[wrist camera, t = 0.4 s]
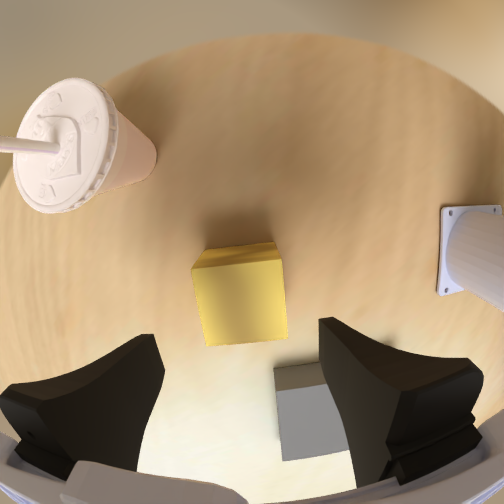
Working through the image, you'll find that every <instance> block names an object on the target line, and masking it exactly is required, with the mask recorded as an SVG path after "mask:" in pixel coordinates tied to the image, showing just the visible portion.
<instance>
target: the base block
mask: <svg viewBox="0 0 504 504" xmlns="http://www.w3.org/2000/svg"><path fill="white" fill-rule="evenodd" d="M274 379H275V389H276V399H277V409H278V420H279V430H280V441H281V450H282V460H283V461H290V460H297V459H304V458H311V457H316V456H322V455H327V454H332V453H337V452H341V451H346V450H349V446H348V442H347V438H346V434H345V430H344V426H343V423H342V419H341V417H340V414H339V411H338V409H337V406H336V404H335V402H334V399H333V397H332V395H331V392H330V390H329V388H328V385H327V383H326V380H325V378H324V375H323V371H322V368H321V364H320V362H317V363H311V364H304V365H297V366H290V367H282V368H274Z"/></svg>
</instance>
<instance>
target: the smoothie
mask: <svg viewBox="0 0 504 504" xmlns="http://www.w3.org/2000/svg"><path fill="white" fill-rule="evenodd" d="M0 152H8V153H13V170H14V176H15V181H16V184H17V187H18V189H19V192H20V194H21V195H22V197H23V199H24V200H25V201H26V202H27V203H28V204H29V205H30V206H31V207H32V208H33V209H35V210H37V211H39V212H43V213H57V212H63V213H65V212H68V211H71V210H74V209H77V208H79V207H80V206H81V205H83V204H84V203H85V202H87V201H88V200H90V199H91V197H93V196H96V195H99V194H102V193H105V192H108V191H111V190H114V189H117V188H120V187H124V186H127V185H130V184H134V183H137V182H140V181H142V180H144V179H146V178H147V177H148V176H149V175H150V174H151V172H152V171H153V169H154V167H155V164H156V159H157V153H156V148H155V146H154V144H153V143H152V141H151V140H150V139H149V138H148V137H146V136H145V135H144V134H143V133H142V132H141V131H140V130H139V129H138V128H137V127H136V126H134V125H133V124H132V123H131V122H130V121H129V120H128V119H127V118H126V117H125V116H124V115H122V114H121V113H120V112H119V111H118V110H117V109H116V107H115V104H114V102H113V99H112V98H111V96H110V95H109V94H108V93H107V91H106V90H105V89H104V88H102V87H101V86H99V85H97V84H95V83H93V82H90V81H88V80H85V79H82V78H69V79H65V80H62V81H59V82H57V83H55V84H54V85H52V86H50V87H49V88H48V89H46V90H45V91H44V92H43V93H42V94H40V96H39V97H38V98H37V99H36V100H35V101H34V102H33V104H32V105H31V107H30V108H29V109H28V111H27V112H26V114H25V116H24V118H23V120H22V122H21V125H20V128H19V130H18V133H17V136H16V138H15V137H7V136H0Z"/></svg>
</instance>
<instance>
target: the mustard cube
mask: <svg viewBox="0 0 504 504" xmlns="http://www.w3.org/2000/svg"><path fill="white" fill-rule="evenodd" d="M191 274H192V279H193V285H194V290H195V295H196V300H197V305H198V310H199V315H200V319H201V324H202V329H203V333H204V338H205V342H206V346H218V345H231V344H243V343H253V342H263V341H272V340H280V339H288V332H287V318H286V306H285V293H284V281H283V270H282V259H281V257H280V254H279V252H278V250H277V247H276V245H275V243H274V242H267V243H258V244H250V245H241V246H232V247H224V248H215V249H207V250H204V252H203V253H202V254H201V256H200V257H199V258H198V260H197V261H196V263H195V264H194V265H193V267H192V268H191Z"/></svg>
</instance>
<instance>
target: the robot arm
mask: <svg viewBox="0 0 504 504" xmlns="http://www.w3.org/2000/svg"><path fill="white" fill-rule="evenodd" d="M449 211H450V215H449ZM445 289H446V290H445ZM462 290H467V291H469V292H471V293H472V294H474V295H476V296H478V297H479V298H481V299H483V300H484V301H486V302H488V303H489V304H491V305H493V306H494V307H496V308H498V309H499V310H501V311H502V312H504V216H503V215H502V207H501V205H475V206H453V207H443V208H442V210H441V243H440V262H439V275H438V285H437V294H438V295H440V296H444V295H448V294H451V293H455V292H459V291H462ZM319 360H320V364H321V368H322V371H323V375H324V378H325V380H326V383H327V385H328V388H329V390H330V392H331V395H332V397H333V399H334V402H335V404H336V406H337V409H338V411H339V414H340V417H341V419H342V423H343V426H344V430H345V434H346V438H347V442H348V446H349V450H350V454H351V459H352V464H353V469H354V474H355V480H356V486H357V489H353V490H349V491H345V492H341V493H336V494H331V495H327V496H321V497H316V498H310V499H303V500H296V501H288V502H278V503H266V504H481V503H483V502H484V501H486V500H487V499H488V498H489V497H491V496H492V495H494V494H495V493H496V492H497V491H499V490H500V489H501V488H502V487H503V486H504V409H502V410H501V411H499V412H498V413H497V414H495V415H494V416H492V417H491V418H489V419H488V420H486V421H485V422H484V423H482V424H481V425H480V426H479V427H478V428H477V429H476V427H475V426H474V425H473V423H474V422H475V417H474V415H473V414H472V413H471V411H472V409H473V407H474V405H475V403H476V401H477V399H478V397H479V394H480V392H481V389H482V386H483V380H484V376H483V373H482V371H481V370H480V369H479V368H478V367H477V366H476V365H475V364H474V363H473V362H472V361H471V360H470V359H469V358H441V357H431V356H424V355H419V354H414V353H410V352H405V351H402V350H398V349H395V348H393V347H390V346H387V345H384V344H382V343H379V342H377V341H375V340H373V339H371V338H369V337H367V336H365V335H363V334H361V333H359V332H358V331H356V330H354V329H352V328H351V327H349V326H347V325H346V324H344V323H343V322H341V321H339V320H338V319H336V318H334V317H328V318H321V319H319ZM164 374H165V368H164V365H163V362H162V359H161V356H160V353H159V350H158V347H157V344H156V341H155V337H154V334H141V335H139V336H137V337H135V338H133V339H131V340H130V341H128V342H126V343H125V344H123V345H121V346H120V347H118V348H117V349H115V350H113V351H112V352H110V353H108V354H107V355H105V356H103V357H101V358H100V359H98V360H96V361H94V362H92V363H90V364H88V365H86V366H84V367H82V368H80V369H77V370H75V371H72V372H70V373H67V374H64V375H61V376H58V377H54V378H50V379H46V380H41V381H36V382H28V383H18V384H11V385H10V386H8V387H7V388H6V389H5V391H4V392H3V393H2V394H1V395H0V408H1V410H2V412H3V414H4V416H5V417H6V419H7V420H8V422H9V423H10V424H11V426H12V427H13V428H14V430H15V431H16V432H17V434H18V435H19V436H20V438H21V441H20V442H19V443H18V442H17V441H16V440H14V439H13V438H11V437H10V436H8V435H6V434H4V433H3V432H1V431H0V489H1V490H2V491H4V492H5V493H6V494H7V495H8V496H9V497H10V498H11V499H13V500H14V501H16V502H17V503H18V504H248V501H247V500H246V499H244V498H243V497H242V496H240V495H239V494H238V493H237V492H235V491H234V490H232V489H229V488H226V487H223V486H220V485H217V484H214V483H209V482H202V481H196V480H190V479H181V478H172V477H164V476H157V475H150V474H144V473H139V472H137V465H138V459H139V453H140V448H141V443H142V439H143V435H144V431H145V428H146V425H147V422H148V420H149V417H150V415H151V412H152V410H153V407H154V405H155V403H156V400H157V398H158V395H159V392H160V390H161V387H162V383H163V379H164Z"/></svg>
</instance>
